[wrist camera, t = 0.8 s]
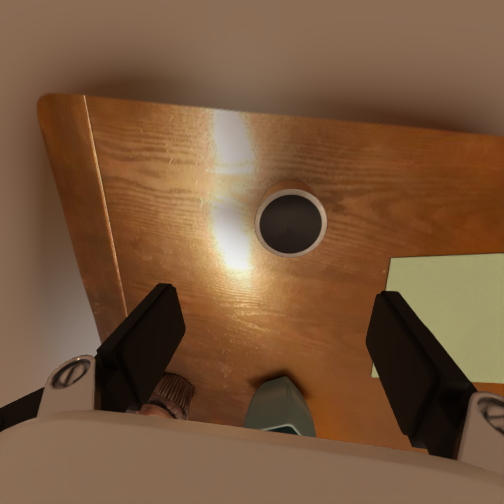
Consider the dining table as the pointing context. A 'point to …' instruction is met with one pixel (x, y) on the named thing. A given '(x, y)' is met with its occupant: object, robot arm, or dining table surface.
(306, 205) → the steel pot
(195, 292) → the dining table surface
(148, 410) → the cupcake
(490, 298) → the trivet mat
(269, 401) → the flower pot
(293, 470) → the robot arm
